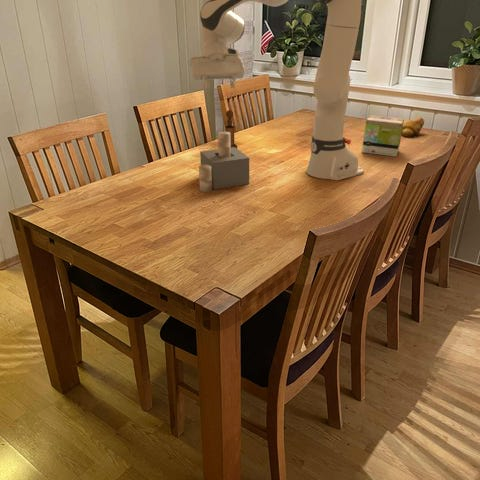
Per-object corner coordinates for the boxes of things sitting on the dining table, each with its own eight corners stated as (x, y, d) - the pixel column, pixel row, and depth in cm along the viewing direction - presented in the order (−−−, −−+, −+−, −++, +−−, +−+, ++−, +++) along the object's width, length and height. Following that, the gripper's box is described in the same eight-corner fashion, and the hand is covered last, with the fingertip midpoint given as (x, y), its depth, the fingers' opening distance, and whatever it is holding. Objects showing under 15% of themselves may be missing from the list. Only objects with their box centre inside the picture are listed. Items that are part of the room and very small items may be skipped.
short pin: (209, 187, 171) (208, 164, 167) (213, 191, 167) (213, 167, 163) (198, 189, 169) (197, 165, 165) (202, 193, 166) (201, 169, 161)
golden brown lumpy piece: (412, 139, 225) (414, 122, 221) (393, 135, 231) (395, 118, 227) (423, 133, 233) (426, 117, 230) (405, 130, 239) (408, 114, 236)
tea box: (361, 153, 206) (365, 119, 199) (364, 146, 214) (369, 114, 207) (396, 157, 201) (402, 123, 194) (399, 150, 209) (404, 117, 202)
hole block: (234, 171, 185) (234, 147, 181) (249, 183, 174) (249, 157, 169) (201, 176, 181) (200, 151, 176) (213, 189, 169) (213, 162, 165)
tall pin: (228, 177, 180) (227, 131, 171) (232, 181, 176) (232, 134, 168) (217, 178, 178) (216, 132, 170) (221, 182, 175) (220, 135, 166)
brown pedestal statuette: (235, 154, 205) (235, 112, 196) (221, 153, 206) (220, 111, 198) (238, 149, 211) (238, 109, 202) (224, 148, 212) (223, 108, 203)
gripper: (189, 51, 176) (193, 83, 172) (242, 50, 179) (247, 81, 175) (188, 62, 182) (192, 93, 178) (240, 61, 185) (245, 91, 181)
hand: (220, 87), depth 177 cm, fingers open, 8 cm apart
